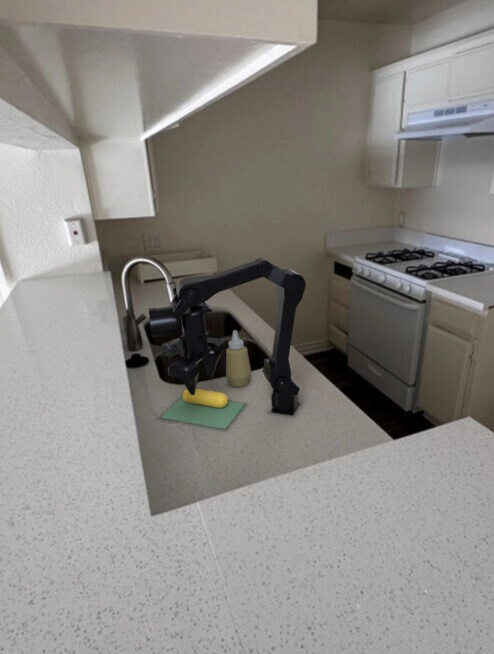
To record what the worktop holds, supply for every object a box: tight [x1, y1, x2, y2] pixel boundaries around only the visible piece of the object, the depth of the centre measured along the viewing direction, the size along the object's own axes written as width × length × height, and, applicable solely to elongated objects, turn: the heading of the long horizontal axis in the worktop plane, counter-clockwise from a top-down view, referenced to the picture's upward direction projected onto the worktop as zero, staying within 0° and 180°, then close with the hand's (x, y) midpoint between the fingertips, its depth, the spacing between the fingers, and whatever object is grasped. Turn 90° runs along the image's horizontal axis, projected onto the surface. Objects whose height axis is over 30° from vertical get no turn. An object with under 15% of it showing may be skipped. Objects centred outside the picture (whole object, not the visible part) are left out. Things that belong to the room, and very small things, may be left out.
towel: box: [161, 396, 246, 431], centre depth 120 cm, size 20×13×1 cm, turn 70°
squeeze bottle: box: [225, 329, 252, 388], centre depth 131 cm, size 8×8×18 cm
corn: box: [182, 388, 229, 408], centre depth 122 cm, size 14×4×4 cm, turn 70°
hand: (201, 386), depth 109 cm, fingers open, 9 cm apart
